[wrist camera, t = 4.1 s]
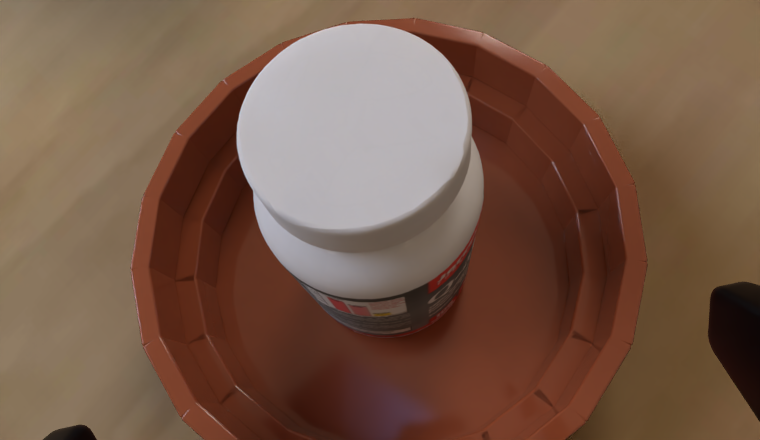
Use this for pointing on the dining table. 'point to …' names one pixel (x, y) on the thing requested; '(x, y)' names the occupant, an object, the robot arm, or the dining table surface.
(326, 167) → the pill bottle
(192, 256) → the terracotta bowl
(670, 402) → the dining table surface
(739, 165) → the dining table surface
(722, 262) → the dining table surface
